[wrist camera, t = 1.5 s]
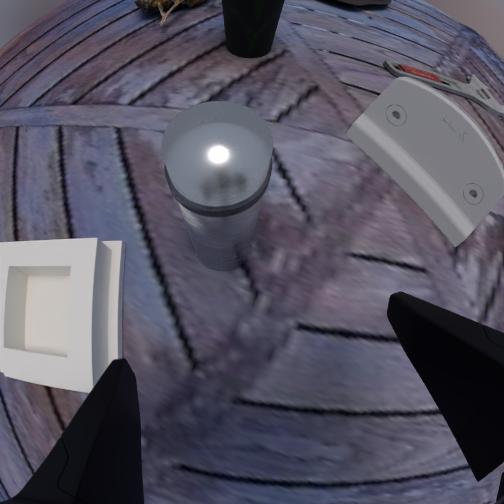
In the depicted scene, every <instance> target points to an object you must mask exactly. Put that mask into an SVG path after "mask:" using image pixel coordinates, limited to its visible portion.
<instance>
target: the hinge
mask: <svg viewBox="0 0 504 504" xmlns="http://www.w3.org/2000/svg"><path fill="white" fill-rule="evenodd" d="M346 136H347V137H348V138H349V139H351V140H352V141H353V142H354V143H355V144H356V145H357V146H358V147H360V148H361V149H362V150H363V151H364V152H365V153H366V154H367V155H368V156H369V157H371V158H372V159H373V160H374V161H375V162H376V163H377V164H378V165H379V166H380V167H381V168H382V169H383V170H384V171H385V172H386V173H387V174H388V175H389V176H390V177H391V178H392V179H393V180H394V181H395V182H396V183H397V184H398V185H399V186H400V187H401V188H402V189H403V190H404V191H405V192H406V193H407V194H408V195H409V196H410V197H411V198H412V199H413V200H414V201H415V202H416V203H417V204H418V206H419V207H420V208H421V209H422V210H423V211H424V212H425V213H426V214H427V215H428V217H429V218H430V219H431V220H432V221H433V222H434V223H435V224H436V226H437V227H438V228H439V229H440V230H441V231H442V233H443V234H444V235H445V236H446V237H447V239H448V240H449V241H450V242H451V243H452V245H453V246H454V247H456V246H458V245H459V244H460V243H462V242H463V241H464V240H465V239H466V238H467V237H468V236H469V235H470V234H471V232H472V231H473V230H474V229H475V228H476V227H477V225H478V224H479V223H480V222H481V221H482V220H483V219H484V218H485V217H486V215H487V214H488V213H489V212H490V211H491V210H492V209H493V208H494V206H495V205H496V204H497V203H498V202H499V201H500V199H501V198H502V197H503V196H504V167H503V165H502V162H501V160H500V158H499V156H498V154H497V152H496V150H495V148H494V147H493V145H492V143H491V142H490V140H489V139H488V137H487V136H486V134H485V133H484V132H483V130H482V129H481V128H480V126H479V125H478V124H477V123H476V122H475V121H474V120H473V118H472V117H471V116H470V115H469V114H468V113H467V112H466V111H465V110H463V109H462V108H461V107H460V106H459V105H458V104H457V103H455V102H454V101H453V100H451V99H450V98H449V97H447V96H446V95H444V94H443V93H441V92H440V91H438V90H436V89H434V88H433V87H431V86H429V85H427V84H425V83H423V82H420V81H418V80H415V79H413V78H410V77H398V78H396V79H395V80H394V81H393V82H392V83H391V84H390V85H389V86H388V87H387V88H386V89H385V90H384V91H383V92H382V93H381V94H380V95H379V97H378V98H377V99H376V100H375V101H374V102H373V103H372V104H371V105H370V106H369V107H368V108H367V109H366V110H365V112H364V113H363V114H362V115H361V116H360V117H359V118H358V119H357V120H356V121H355V122H354V123H353V124H352V126H351V127H350V129H349V130H348V132H347V133H346Z"/></svg>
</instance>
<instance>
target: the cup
mask: <svg viewBox="0 0 504 504" xmlns="http://www.w3.org/2000/svg"><path fill="white" fill-rule="evenodd" d="M283 4H284V0H222V7H223V16H224V26H225V36H226V45H227V49H228V51H229V52H230V53H232V54H234V55H236V56H239V57H244V58H257V57H262V56H264V55H266V54H268V53H269V52H270V50H271V46H272V43H273V39H274V36H275V32H276V28H277V25H278V21H279V18H280V14H281V11H282V7H283Z"/></svg>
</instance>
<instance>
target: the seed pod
mask: <svg viewBox="0 0 504 504" xmlns="http://www.w3.org/2000/svg"><path fill="white" fill-rule="evenodd" d="M204 1H206V0H136V1H135V4H136V5H137V7H140V8H142V9H141V10H143V12H145V13H153V12H156V11H160V12H161V15H162V20H161V22H160V23H159V24H160V27H161V26H163V25H165V21H166V18H167V16H168V15H169V13H170V12H171V11H172V10H173V9H174V8H175V7H176V6H177V5H178V4H179V3H181V2H182V4H187V5H188V6H194V5H197V4H199V3H201V2H204ZM171 3H175V4H174V5H173V6H172V7H171V9H170V10H169V11H168V12H167V13H166V12H165V13H164V12H163V10H164V9H166V8H168V6H169V5H170V4H171Z"/></svg>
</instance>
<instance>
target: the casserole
mask: <svg viewBox="0 0 504 504" xmlns="http://www.w3.org/2000/svg"><path fill="white" fill-rule="evenodd" d="M336 1H339V2H343V3H346V4H350V5H355V6H362V5H369V4H373V5H386V4H389V3H391V0H336Z"/></svg>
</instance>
